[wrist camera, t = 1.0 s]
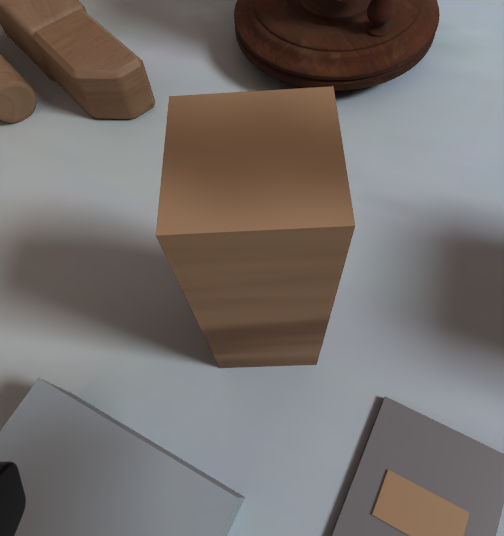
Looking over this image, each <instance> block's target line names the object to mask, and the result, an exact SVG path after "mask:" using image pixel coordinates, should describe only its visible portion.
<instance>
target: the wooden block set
mask: <svg viewBox="0 0 504 536" xmlns="http://www.w3.org/2000/svg"><path fill="white" fill-rule="evenodd" d="M0 24H1V26H2V28H3V29H4V31H5V32H6V33H7V34H8V35H9V36H10V37H11V39H12V40H13V41H14V42H15V43H16V44H17V45H18V46H19V47H20V48H21V49H22V50H23V51H24V52H25V53H26V54H27V55H28V56H29V57H30V58H31V59H32V60H33V61H34V62H35V63H36V64H37V65H38V66H39V67H40V68H41V69H42V70H43V71H44V72H45V74H46V75H47V76H48V77H49V78H50V79H51V80H53V81H57V82H58V83H59V84H60V85H61V86H62V87H63V88H64V89H65V90H66V91H67V92H68V93H69V94H70V95H71V96H72V97H73V98H74V99H75V100H76V101H77V102H78V103H79V104H80V105H81V106H82V107H83V108H84V109H85V110H86V111H87V112H88V113H89V114H90V115H91V116H92V117H95V118H98V119H135V118H137V117H138V116H140V115H142V114H143V113H145V112H146V111H148V110H150V109H151V108H153V107H154V104H155V99H154V96H153V93H152V90H151V86H150V83H149V80H148V77H147V74H146V70H145V67H144V64H143V61H142V60H141V59H140V58H139V57H138V56H136V55H135V54H134V53H133V52H132V51H131V50H129V49H128V48H127V47H126V46H125V45H124V44H122V43H121V42H120V41H119V40H118V39H117V38H115V37H114V36H113V35H112V34H111V33H109V32H108V31H107V30H106V29H105V28H104V27H102V26H101V25H100V24H99V23H98V22H97V21H95V20H94V19H93V18H92V17H91V16H89V15H88V14H87V12H86V10H85V7H84V6H83V5H82V3H81V2H79V1H78V0H0ZM35 107H36V95H35V92H34V90H33V89H32V87H31V86H30V85H29V84H28V83H27V82H26V81H25V80H24V79H23V78H22V77H21V75H20V74H19V73H18V72H17V71H16V70H15V69H14V68H13V67H12V66H11V65H10V64H9V62H8V61H7V60H6V59H5V58H4V57H3V56H2V55H1V54H0V120H2V121H5V122H9V123H16V122H20V121H23V120H25V119H26V118H28V117H29V116H30V115H31V114H32V113H33V112H34V110H35Z"/></svg>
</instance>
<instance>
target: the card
mask: <svg viewBox="0 0 504 536" xmlns="http://www.w3.org/2000/svg"><path fill="white" fill-rule="evenodd" d="M503 504H504V454H503V453H501V452H499V451H496V450H494V449H492V448H490V447H488V446H486V445H484V444H482V443H480V442H478V441H476V440H474V439H472V438H470V437H468V436H466V435H464V434H461V433H459V432H457V431H455V430H453V429H451V428H449V427H447V426H445V425H443V424H441V423H439V422H437V421H435V420H433V419H431V418H428V417H426V416H424V415H422V414H420V413H418V412H416V411H414V410H412V409H410V408H408V407H406V406H404V405H402V404H400V403H398V402H396V401H393V400H391V399H389V398H387V397H384V399H383V402H382V404H381V407H380V410H379V412H378V415H377V417H376V420H375V423H374V425H373V428H372V430H371V433H370V436H369V438H368V441H367V443H366V446H365V449H364V451H363V454H362V456H361V459H360V462H359V464H358V467H357V470H356V472H355V475H354V477H353V480H352V483H351V485H350V488H349V490H348V493H347V496H346V498H345V501H344V503H343V506H342V509H341V511H340V514H339V517H338V519H337V522H336V524H335V527H334V530H333V532H332V535H331V536H496V532H497V528H498V524H499V520H500V516H501V512H502V508H503Z"/></svg>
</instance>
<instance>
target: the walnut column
mask: <svg viewBox="0 0 504 536" xmlns="http://www.w3.org/2000/svg"><path fill="white" fill-rule="evenodd" d="M354 228H355V222H354V215H353V209H352V202H351V196H350V190H349V183H348V177H347V170H346V164H345V157H344V151H343V144H342V138H341V132H340V125H339V119H338V112H337V106H336V99H335V93H334V86H331V87H315V88H298V89H282V90H266V91H250V92H234V93H218V94H201V95H185V96H169V105H168V115H167V125H166V136H165V146H164V156H163V167H162V177H161V187H160V197H159V208H158V218H157V228H156V237H157V239H158V241H159V243H160V245H161V247H162V249H163V251H164V253H165V256H166V258H167V260H168V262H169V264H170V266H171V268H172V270H173V272H174V274H175V276H176V278H177V281H178V283H179V285H180V287H181V289H182V291H183V293H184V295H185V297H186V299H187V301H188V303H189V305H190V308H191V310H192V312H193V314H194V316H195V318H196V320H197V322H198V324H199V326H200V328H201V330H202V333H203V335H204V337H205V339H206V341H207V343H208V345H209V347H210V349H211V351H212V353H213V355H214V358H215V360H216V362H217V364H218V366H219V368H233V367H262V366H290V365H317V361H318V357H319V354H320V350H321V347H322V343H323V339H324V336H325V332H326V329H327V325H328V321H329V318H330V314H331V311H332V307H333V303H334V300H335V296H336V293H337V289H338V285H339V282H340V278H341V275H342V271H343V268H344V264H345V260H346V257H347V253H348V250H349V246H350V242H351V239H352V235H353V232H354Z"/></svg>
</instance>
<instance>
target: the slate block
mask: <svg viewBox="0 0 504 536" xmlns="http://www.w3.org/2000/svg"><path fill="white" fill-rule="evenodd" d="M4 461H11V462H14V463H15V464H16V465H17V467H18V470H19V473H20V477H21V481H22V485H23V488H24V492H25V496H26V506H25V510H24V513H23V516H22V518H21V521H20V523H19V526H18V528H17V531H16V533H15V536H227V534H228V532H229V530H230V528H231V526H232V524H233V522H234V519H235V517H236V515H237V513H238V511H239V509H240V507H241V505H242V503H243V500H244V498H245V497H244V496H242V495H240V494H239V493H237V492H235V491H234V490H232V489H230V488H229V487H227V486H225V485H224V484H222V483H220V482H219V481H217V480H215V479H214V478H212V477H210V476H209V475H207V474H205V473H204V472H202V471H200V470H199V469H197V468H195V467H194V466H192V465H190V464H189V463H187V462H185V461H184V460H182V459H180V458H179V457H177V456H175V455H174V454H172V453H170V452H169V451H167V450H165V449H164V448H162V447H160V446H159V445H157V444H155V443H154V442H152V441H150V440H149V439H147V438H145V437H144V436H142V435H140V434H139V433H137V432H135V431H134V430H132V429H130V428H129V427H127V426H125V425H124V424H122V423H120V422H119V421H117V420H115V419H114V418H112V417H110V416H109V415H107V414H105V413H104V412H102V411H100V410H99V409H97V408H95V407H94V406H92V405H90V404H89V403H87V402H85V401H84V400H82V399H80V398H79V397H77V396H75V395H74V394H72V393H70V392H67V391H65V390H63V389H61V388H59V387H57V386H55V385H53V384H51V383H49V382H47V381H44V380H42V379H40V378H38V380H37V381H36V382H35V384H34V385H33V387H32V388H31V389H30V391H29V392H28V393H27V395H26V396H25V397H24V399H23V400H22V402H21V403H20V404H19V406H18V407H17V408H16V410H15V411H14V413H13V414H12V415H11V417H10V418H9V419H8V421H7V422H6V423H5V425H4V426H3V428H2V429H1V430H0V462H4Z"/></svg>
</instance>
